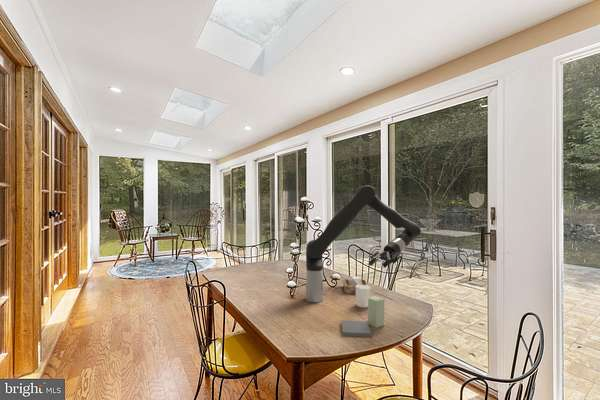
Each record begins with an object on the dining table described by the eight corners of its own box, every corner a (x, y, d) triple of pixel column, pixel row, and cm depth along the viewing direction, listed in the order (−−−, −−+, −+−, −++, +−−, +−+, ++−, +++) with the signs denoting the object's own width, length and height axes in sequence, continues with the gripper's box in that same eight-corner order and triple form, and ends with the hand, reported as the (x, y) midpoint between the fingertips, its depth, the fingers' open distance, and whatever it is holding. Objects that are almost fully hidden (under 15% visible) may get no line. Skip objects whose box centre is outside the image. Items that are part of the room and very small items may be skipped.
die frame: (345, 293, 182) (345, 286, 182) (343, 285, 197) (343, 278, 197) (368, 294, 181) (369, 286, 181) (365, 286, 196) (365, 279, 196)
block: (376, 327, 136) (376, 301, 135) (368, 323, 140) (368, 297, 139) (383, 325, 138) (384, 299, 138) (375, 321, 142) (375, 295, 142)
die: (351, 287, 195) (344, 277, 191) (363, 281, 194) (356, 271, 190) (354, 296, 187) (347, 285, 183) (367, 290, 186) (360, 279, 183)
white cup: (367, 309, 157) (367, 290, 157) (353, 306, 161) (353, 287, 161) (372, 304, 164) (372, 286, 164) (358, 301, 168) (358, 283, 168)
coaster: (342, 335, 128) (342, 332, 128) (341, 323, 140) (341, 320, 140) (371, 336, 127) (371, 333, 127) (367, 324, 139) (367, 321, 139)
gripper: (381, 241, 161) (362, 257, 152) (404, 241, 149) (385, 259, 140) (385, 253, 162) (367, 270, 153) (409, 255, 151) (391, 273, 142)
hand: (376, 265), depth 147 cm, fingers open, 8 cm apart
